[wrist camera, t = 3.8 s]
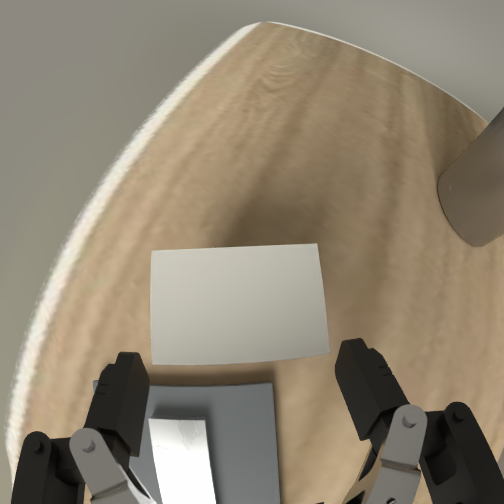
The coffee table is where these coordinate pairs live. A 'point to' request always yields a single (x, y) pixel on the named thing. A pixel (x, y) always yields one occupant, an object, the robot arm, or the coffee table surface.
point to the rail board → (221, 438)
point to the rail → (182, 459)
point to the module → (237, 305)
